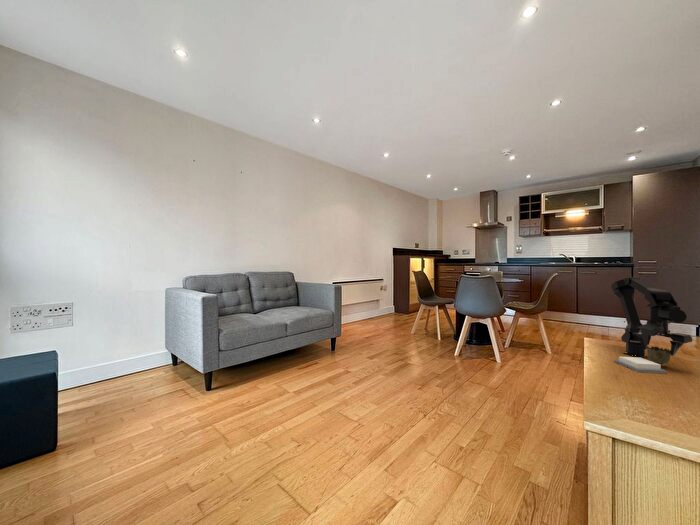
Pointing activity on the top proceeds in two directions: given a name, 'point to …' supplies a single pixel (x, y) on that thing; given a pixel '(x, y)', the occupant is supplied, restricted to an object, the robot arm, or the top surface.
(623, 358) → the stand
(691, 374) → the top surface
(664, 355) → the cup
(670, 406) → the top surface
